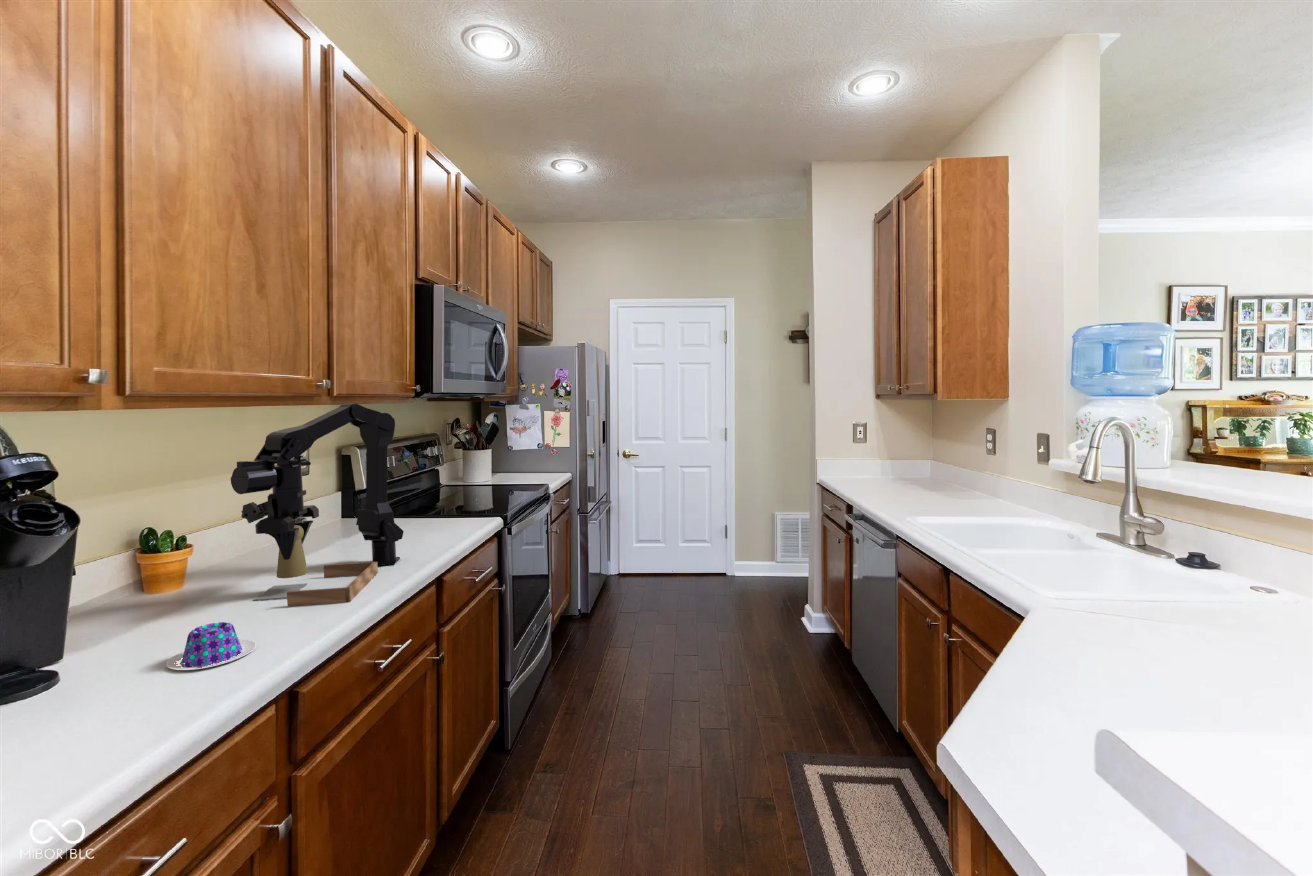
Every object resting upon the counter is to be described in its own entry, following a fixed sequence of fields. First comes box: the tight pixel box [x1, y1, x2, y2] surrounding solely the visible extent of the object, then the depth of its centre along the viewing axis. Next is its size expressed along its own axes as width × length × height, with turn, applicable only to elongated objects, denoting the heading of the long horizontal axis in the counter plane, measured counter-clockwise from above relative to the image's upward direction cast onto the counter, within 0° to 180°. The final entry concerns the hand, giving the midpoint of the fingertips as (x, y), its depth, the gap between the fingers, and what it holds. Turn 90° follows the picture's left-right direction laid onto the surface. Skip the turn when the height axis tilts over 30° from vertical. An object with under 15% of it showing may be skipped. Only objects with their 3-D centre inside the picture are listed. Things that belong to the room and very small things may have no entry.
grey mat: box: [252, 583, 308, 602], centre depth 132 cm, size 10×7×1 cm
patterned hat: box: [165, 621, 257, 671], centre depth 98 cm, size 12×12×5 cm
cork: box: [276, 525, 309, 579], centre depth 132 cm, size 6×6×11 cm
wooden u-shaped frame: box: [286, 561, 379, 607], centre depth 134 cm, size 22×12×3 cm, turn 11°
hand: (291, 556), depth 132 cm, fingers closed on cork, 4 cm apart
